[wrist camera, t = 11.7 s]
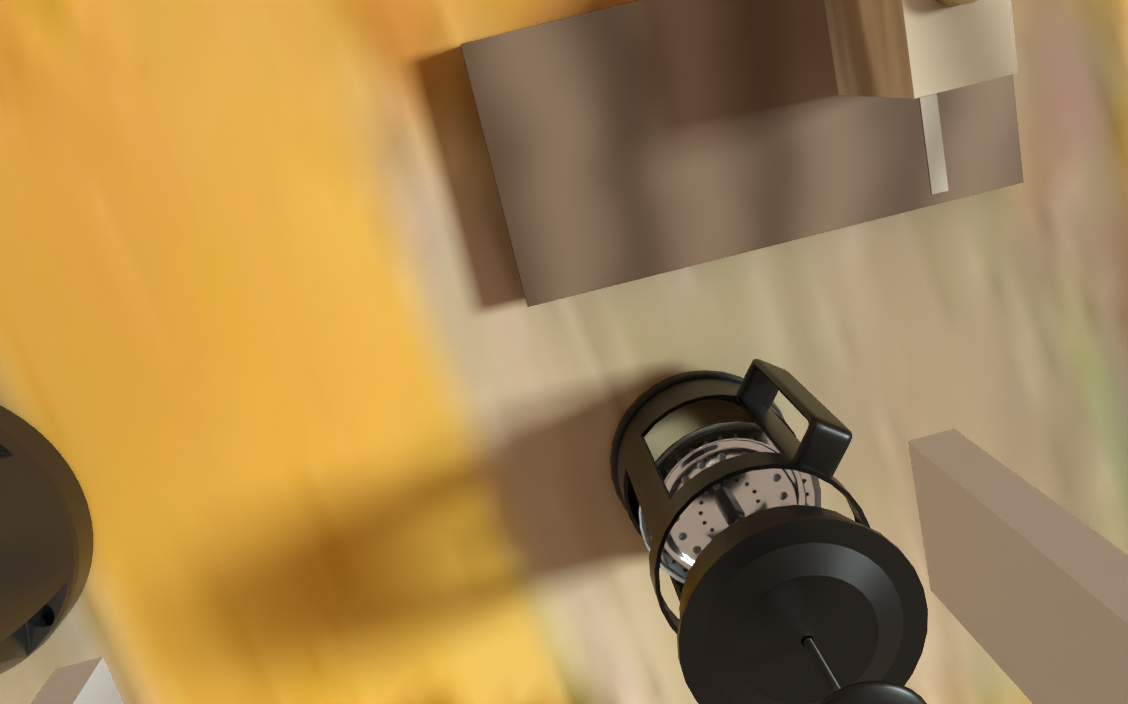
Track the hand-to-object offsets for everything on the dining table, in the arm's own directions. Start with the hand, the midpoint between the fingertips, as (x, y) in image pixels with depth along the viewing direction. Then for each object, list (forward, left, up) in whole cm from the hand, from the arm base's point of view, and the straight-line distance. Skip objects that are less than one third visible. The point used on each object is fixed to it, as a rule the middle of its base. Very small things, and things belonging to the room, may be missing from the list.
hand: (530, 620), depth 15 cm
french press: (+8, -12, -33) cm, 36 cm away
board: (+13, +4, -33) cm, 35 cm away
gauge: (+19, +8, -33) cm, 38 cm away
